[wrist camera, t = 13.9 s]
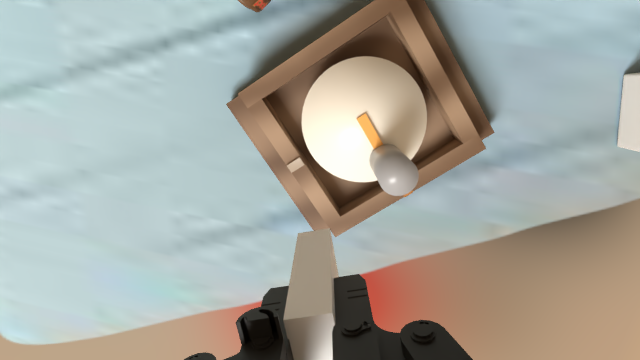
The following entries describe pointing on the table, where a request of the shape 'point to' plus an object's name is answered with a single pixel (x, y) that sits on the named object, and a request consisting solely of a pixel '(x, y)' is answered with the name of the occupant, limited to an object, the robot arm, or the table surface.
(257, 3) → the tin
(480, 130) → the wooden tray
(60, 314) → the table surface
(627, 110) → the milk carton
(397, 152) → the dial
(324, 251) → the robot arm
